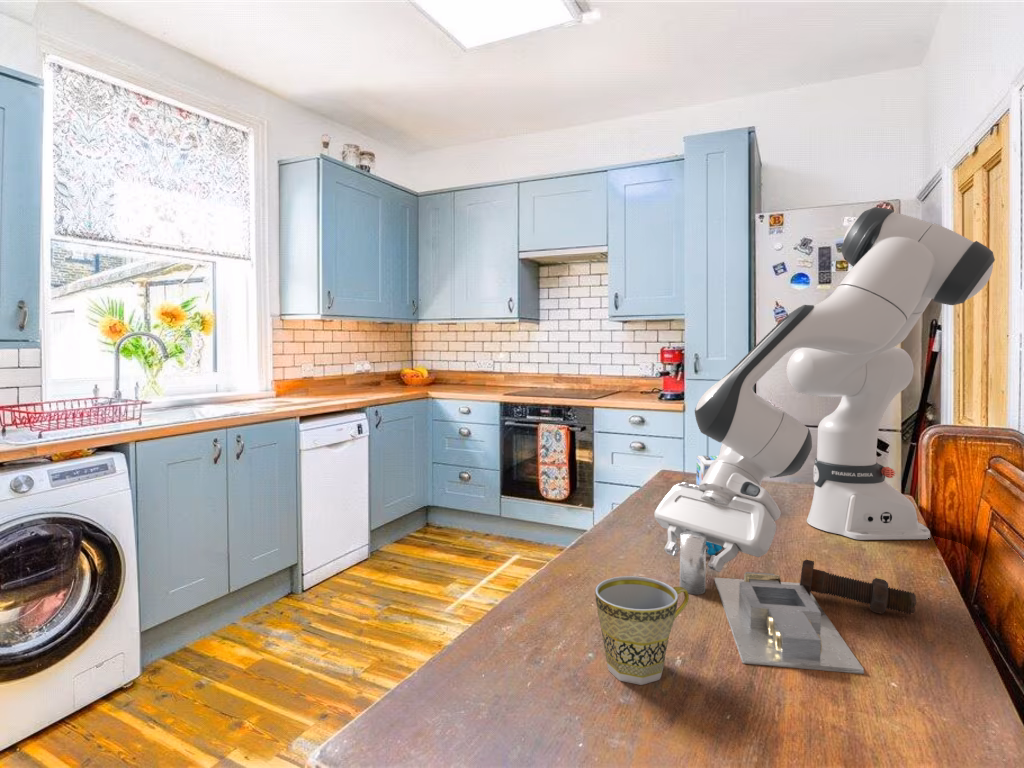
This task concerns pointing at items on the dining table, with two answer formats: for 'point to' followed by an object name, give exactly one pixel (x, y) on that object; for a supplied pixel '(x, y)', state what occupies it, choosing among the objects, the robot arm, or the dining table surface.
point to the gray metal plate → (782, 625)
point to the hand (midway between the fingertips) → (690, 560)
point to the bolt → (857, 590)
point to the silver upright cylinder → (692, 562)
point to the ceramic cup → (637, 625)
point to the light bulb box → (703, 466)
